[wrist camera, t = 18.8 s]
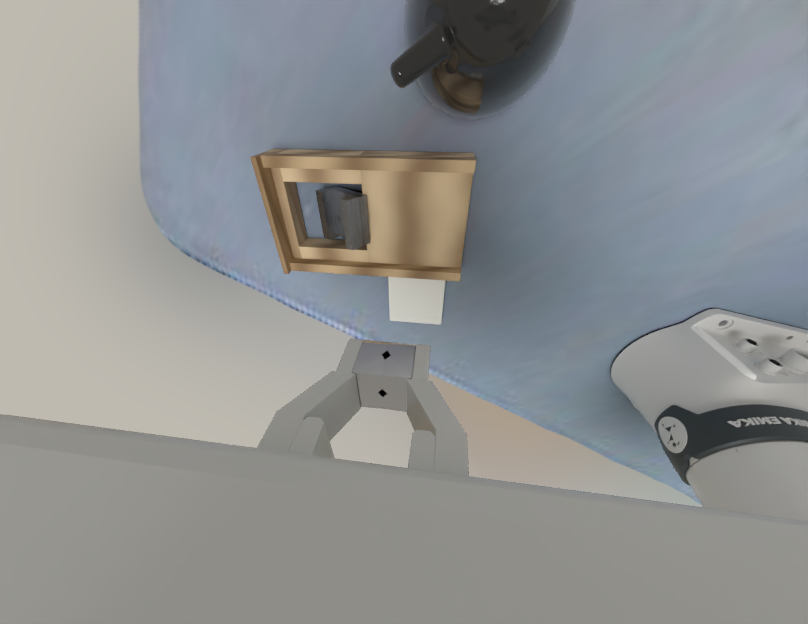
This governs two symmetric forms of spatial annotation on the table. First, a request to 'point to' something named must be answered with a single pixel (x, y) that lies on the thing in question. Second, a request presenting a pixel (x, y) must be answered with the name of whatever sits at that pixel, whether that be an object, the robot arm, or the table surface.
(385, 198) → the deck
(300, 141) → the table surface
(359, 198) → the clip
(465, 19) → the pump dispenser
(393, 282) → the white square plate
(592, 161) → the table surface
